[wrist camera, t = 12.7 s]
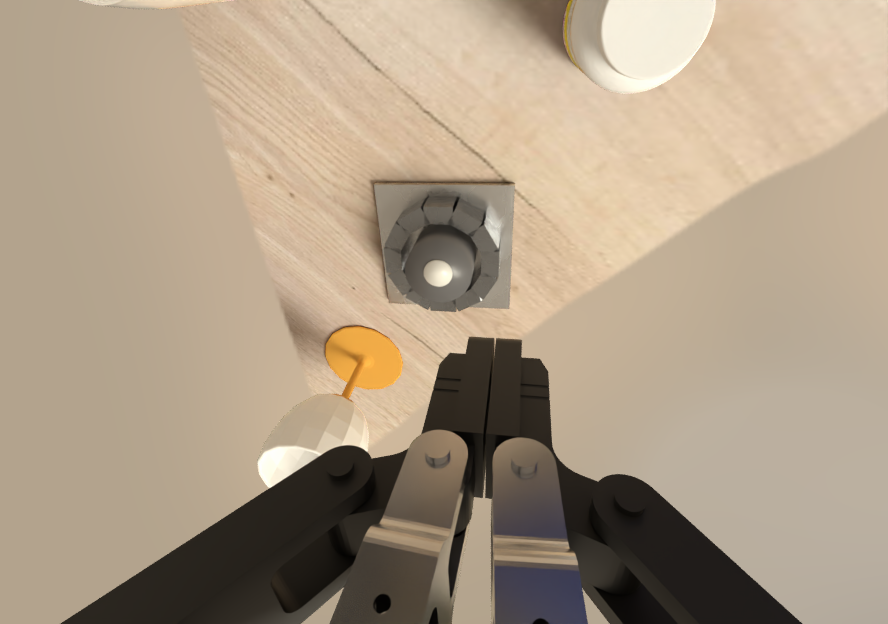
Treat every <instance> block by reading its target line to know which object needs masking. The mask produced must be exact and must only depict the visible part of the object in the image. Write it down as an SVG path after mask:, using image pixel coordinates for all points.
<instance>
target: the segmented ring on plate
mask: <svg viewBox="0 0 888 624" xmlns="http://www.w3.org/2000/svg"><path fill="white" fill-rule="evenodd" d="M374 191H375V198H376V206H377V214H378V222H379V229H380V237H381V245H382V253H383V260H384V268H385V276H386V283H387V291H388V299H389V303H399V304H418V305H420V306H422V307H424V308H426V309H427V310H428V309H429V307H430V308H431V311H450V312H456V310H457V309H458V311H461V310H463V309H465V308H468V307H479V308H499V309H509V305H510V283H511V260H512V238H513V215H514V193H515V183H377V182H376V183H375V184H374ZM431 224H437V225H451V226H453V227H455V228H457V229H459V230H460V231H462V232H464V233H466V234H467V235H469V236H470V237H471V238H472V240H473V242H474V243H475V245H476V252H477V253H476V259H475V264H474V269H473V274H472V279H471V283H470V285H469V287H468V289H467V290H466V292H465V293H464V294H463V295H461V296H460V297H459V298H457V299H455V300H452V301H448V302H434V301H430V300H427V299H425V298H423V297H421V296H420V295H418V294H417V293H416V292H415V291H414V290H413V289H412V288H411V287H410V285H409V283H408V281H407V279H406V275H405V264H406V260H407V258H408V256H409V254H410V252H411V250H412V248H413V246H414V244H415V242H416V240H417V238H418V236H419V235H420V233H421V232H422V231H423V230H424V229H425V228H426V227H427V226H429V225H431Z"/></svg>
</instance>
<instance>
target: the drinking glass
mask: <svg viewBox="0 0 888 624" xmlns="http://www.w3.org/2000/svg"><path fill="white" fill-rule="evenodd" d="M79 1H82V2H85V3H88V4H93V5H100V6H110V7H119V8H132V9H168V8H178V7H187V6H194V5H202V4H210V3H218V2H226V1H235V0H79Z"/></svg>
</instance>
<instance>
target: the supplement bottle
mask: <svg viewBox="0 0 888 624" xmlns="http://www.w3.org/2000/svg"><path fill="white" fill-rule="evenodd" d="M715 4H716V3H715V0H569V2H568V4H567V7H566V10H565V14H564V20H563V39H564V44H565V48H566V51H567V53H568V55H569V57H570V59H571V60H572V62H573V63H574V64H575V65H576V66H577V67H578V68H579V69H580V70H581V71H582V72H583V73H584V74H585V75H586V76H587V77H588V78H589V79H590V80H591V81H592V82H594V83H595V84H596V85H598V86H599V87H601V88H603V89H606V90H608V91H611V92H615V93H623V94H629V93H638V92H643V91H647V90H650V89H652V88H655V87H657V86H659V85H661V84H663V83H665V82H666V81H668V80H669V79H671V78H672V77H673V76H675V75H676V74H677V73H678V72H680V71H681V70H682V69H683V68H684V67H685V66H686V65H687V63H688V62H689V61H690V60H691V58H692V57H693V56H694V54H695V53H696V52H697V50H698V49H699V48H700V46H701V45H702V43H703V41H704V40H705V38H706V36H707V34H708V32H709V29H710V27H711V24H712V21H713V17H714V12H715Z"/></svg>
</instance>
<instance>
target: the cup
mask: <svg viewBox="0 0 888 624" xmlns="http://www.w3.org/2000/svg"><path fill="white" fill-rule="evenodd" d="M325 356H326V359H327V361H328V363H329V366H330V368H331V369H332V370H333V371H334V372H335V373H336V374H337V375H338V376H339V377H340V378H341V379H342V380H344V381H346V382H348V383H347V385H346V387H345V389H344V391H343V393H342V395H338V394H317V395H315V396H313V397H311V398H309V399H307V400H305V401H303V402H301V403H300V404H298V405H296V406H295V407H294V408H293V409H292V410H290V412H288V413H287V414H286V415H285V416H284V417H283V418H282V419H281V421H280V422H279V423H278V425H277V426H276V427H275V429H274V430H273V431H272V433H271V434H270V436H269V437H268V439H267V440H266V442H265V443H264V446H263V448H262V451H261V453H260V455H259V458H258V460H257V462H258V473H259V474H260V476H261V478H262V479H263V481H264V482H265V484H266V485H267V486H268V487H269V488H271V487H272V486H274V485H275V484H277V483H279V482H280V481H282V480H283V479H285V478H286V477H288V476H289V475H291V474H292V473H294V472H296V471H297V470H299V469H300V468H302V467H303V466H305V465H306V464H308V463H309V462H311V461H313V460H314V459H316V458H317V457H319V456H320V455H322V454H323V453H325V452H327V451H328V450H330V449H332V448H335V447H338V446H344V445H353V446H357V447H360V448H362V449H364V450H365V451H367V452H368V442H369V432H368V426H367V421H366V419H365V416H364V414H363V412H362V411H361V410H360V409H359V408H358V407H357V406H356V405H355V403H354V402H353V401H352V400H350V399H349V397H350V395H351V393H352V391H353V389H354V387H355V386H356V387H360V388H364V389H382V388H385V387H387V386H389V385H392V384H393V383H394V382H395V381H396V380H397V379H398V378H399V376H400V375H401V371H402V365H403V361H402V358H401V355H400V352H399V350H398V349H397V347H396V346H395V345H394V344H393V343H392V341H391V340H390V339H389V338H387V337H386V336H384V335H382V334H381V333H379V332H378V331H376V330H373V329H369V328H365V327H361V326H354V327H344V328H342V329H340V330H338V331H336V332H335V333H333V334H332V335H331V337H330V338H329V340H328V341H327V343H326V351H325Z"/></svg>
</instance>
